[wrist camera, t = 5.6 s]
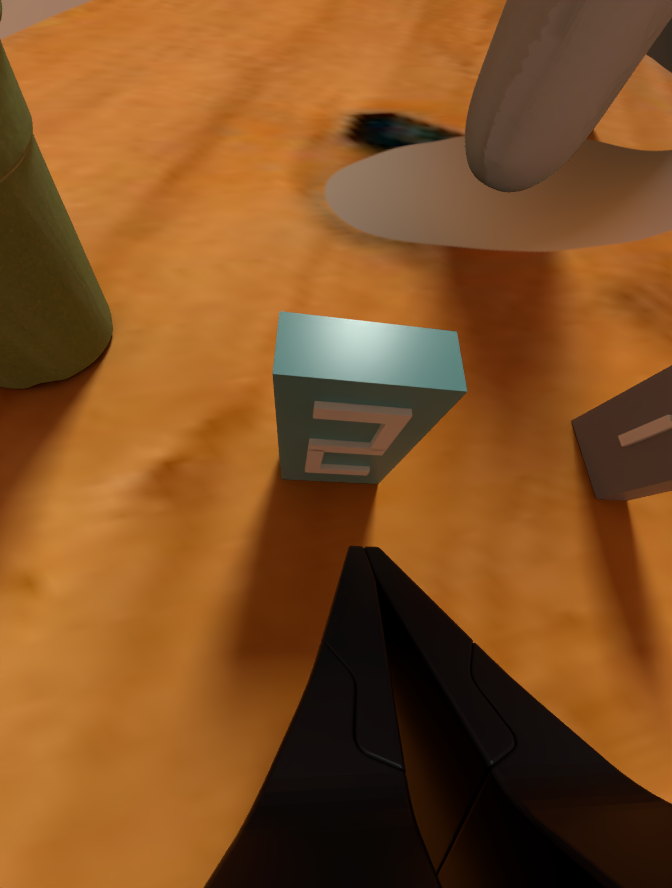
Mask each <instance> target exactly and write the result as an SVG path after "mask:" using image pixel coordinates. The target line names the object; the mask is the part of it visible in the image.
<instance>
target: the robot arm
mask: <svg viewBox="0 0 672 888" xmlns="http://www.w3.org/2000/svg"><path fill="white" fill-rule="evenodd" d="M204 888H672V804H671V803H669V802H667V801H665V800H663V799H661V798H660V797H658V796H656V795H654V794H652V793H651V792H649V791H648V790H646V789H644V788H643V787H641V786H640V785H638V784H637V783H635V782H634V781H633V780H631V779H630V778H628V777H627V776H626V775H624V774H623V773H622V772H620V771H619V770H618V769H617V768H615V767H614V766H613V765H612V764H611V763H609V762H608V761H607V760H606V759H605V758H603V757H602V756H601V755H600V754H599V753H598V752H596V751H595V750H594V749H593V748H592V747H591V746H589V745H588V744H587V743H586V742H585V741H584V740H583V739H581V738H580V737H579V736H578V735H577V734H576V733H574V732H573V731H572V730H571V729H570V728H569V727H567V726H566V725H565V724H564V723H563V722H562V721H560V720H559V719H558V718H557V717H556V716H555V715H553V714H552V713H551V712H550V711H549V710H548V709H547V708H545V707H544V706H543V705H542V704H541V703H540V702H538V701H537V700H536V699H535V698H534V697H533V696H532V695H531V694H529V693H528V692H527V691H526V690H525V689H524V688H523V687H522V686H520V685H519V684H518V683H517V682H516V681H515V680H514V679H513V678H511V677H510V676H509V675H508V674H507V673H506V672H505V671H504V670H503V669H502V668H501V667H500V666H499V665H498V664H497V663H496V662H495V661H494V660H492V659H491V658H490V657H489V656H488V655H487V654H486V653H485V652H484V651H483V650H482V649H481V648H480V647H479V646H478V645H477V644H476V643H473V640H472V639H471V638H470V637H469V636H468V635H467V634H466V633H465V632H464V631H463V630H462V629H461V628H460V627H459V626H458V625H457V624H456V623H455V622H454V621H453V620H452V619H451V618H450V617H449V616H448V615H447V614H446V613H445V612H444V611H443V610H442V609H441V608H440V607H439V606H438V605H437V604H436V603H435V602H434V601H433V600H432V599H431V598H430V597H429V596H428V595H427V594H426V593H425V592H424V591H423V590H422V589H421V588H420V587H419V586H418V585H417V584H416V583H415V582H413V581H412V580H411V579H410V578H409V577H408V576H407V575H406V574H405V573H404V572H403V571H402V570H401V569H400V568H399V567H398V566H397V565H396V564H395V563H394V562H393V561H392V560H391V559H390V558H389V557H388V556H387V555H386V554H385V553H384V552H383V551H382V550H381V549H380V548H379V547H365V548H363V547H362V546H350V547H349V548H348V551H347V554H346V558H345V561H344V565H343V568H342V571H341V575H340V578H339V582H338V585H337V589H336V592H335V595H334V599H333V602H332V606H331V609H330V612H329V616H328V619H327V623H326V626H325V629H324V633H323V636H322V640H321V644H320V646H319V649H318V653H317V656H316V659H315V662H314V665H313V668H312V671H311V674H310V677H309V680H308V683H307V685H306V688H305V690H304V693H303V695H302V698H301V700H300V702H299V705H298V707H297V710H296V712H295V714H294V716H293V718H292V721H291V723H290V725H289V727H288V730H287V732H286V734H285V736H284V738H283V741H282V743H281V745H280V747H279V750H278V752H277V754H276V756H275V758H274V761H273V763H272V765H271V767H270V770H269V772H268V774H267V776H266V778H265V781H264V783H263V785H262V787H261V789H260V791H259V793H258V795H257V797H256V800H255V802H254V804H253V806H252V808H251V810H250V812H249V813H248V815H247V817H246V819H245V821H244V823H243V825H242V827H241V828H240V830H239V832H238V834H237V836H236V837H235V839H234V840H233V842H232V844H231V845H230V847H229V848H228V850H227V851H226V853H225V855H224V856H223V858H222V859H221V861H220V863H219V864H218V866H217V867H216V869H215V870H214V872H213V874H212V875H211V877H210V878H209V880H208V882H207V883H206V885H205V886H204Z"/></svg>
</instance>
